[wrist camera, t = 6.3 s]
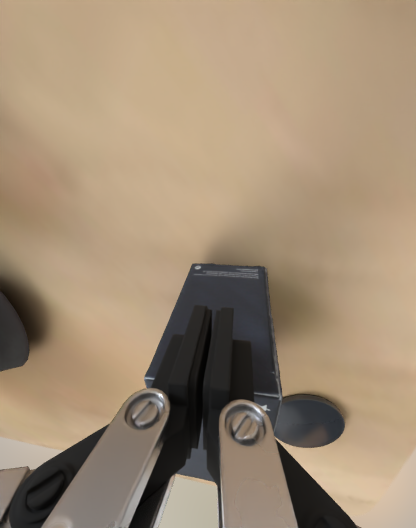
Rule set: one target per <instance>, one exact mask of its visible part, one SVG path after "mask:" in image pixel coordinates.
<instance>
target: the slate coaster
mask: <svg viewBox="0 0 416 528" xmlns="http://www.w3.org/2000/svg"><path fill="white" fill-rule="evenodd" d="M344 427H345V422H344V419H343V416H342V414H341V412H340V410H339V409H338V408H337V406H336V405H334V404H333V403H332V402H330V401H328V400H326V399H324V398H322V397H318V396H314V395H305V394H304V395H293V396H288V397H285V398H283V399H282V403H281V406H280V411H279V415H278V419H277V424H276V428H275V432H274V436H275V437H276V438H278V439H279V440H281V441H282V442H284V443H286V444H289V445H292V446H296V447H303V448H314V447H321V446H324V445H327V444H330V443H332V442H334V441H335V440H337V439H338V438H339V437H340V436H341V434H342V433H343V431H344Z"/></svg>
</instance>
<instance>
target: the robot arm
mask: <svg viewBox="0 0 416 528" xmlns="http://www.w3.org/2000/svg"><path fill="white" fill-rule="evenodd" d="M233 316H234V308H229V307H221V310H216V314H215V320H214V325H213V331H212V310H211V309H208V307H207V306H202V305H194V308H193V311H192V314H191V317H190V320H189V323H188V326H187V328H186V331H185V334H184V335H181V334H173V335H172V337H171V340H170V342H169V345H168V347H167V349H166V352H165V354H164V357H163V359H162V361H161V364H160V366H159V369H158V371H157V374H156V376H155V378H154V381H153V383H152V386H151V388H147V389H142V390H140V391H137V392H135V393H134V394H132V395H131V396H130V397H129V398H128V399H127V400H126V401H125V402H124V403H123V405H122V407H121V408H120V410H119V411H118V413H117V414H116V416H115V417H114V419H113V420H112V422H111V423H110V424H108V425H107V426H105V427H103V428H102V429H100V430H98V431H97V432H95V433H93V434H92V435H90V436H88V437H87V438H85V439H83V440H82V441H80V442H78V443H77V444H75V445H73V446H72V447H70V448H68V449H67V450H65V451H63V452H62V453H60V454H58V455H57V456H55V457H53V458H52V459H50V460H48V461H47V462H45V463H44V464H42V465H41V466H39V467H38V468H37V469H34V470H30V469H29V467H28V466H27V467H20V468H11V469H3V470H0V528H158V527H159V524H160V521H161V518H162V515H163V512H164V509H165V506H166V504H167V501H168V498H169V495H170V492H171V489H172V485H173V483H174V479H175V474H176V473H177V472H178V471H179V470H180V469H181V468H183V467H184V466H185V464H186V459H190V458H191V452H192V448H195V449H198V445H199V438H200V432H201V426H202V419H203V450H207V470H208V472H209V473H210V475H211V477H212V478H213V480H214V481H215V483H216V485H217V503H218V528H361V527H359V526H357V525H355V523H354V522H353V521H352V520H351V519H350V517H349V516H348V515H347V514H346V513H345V512H344V511H343V510H342V509H341V507H340V506H339V505H338V504H337V503H336V502H335V501H334V500H333V499H332V498H331V497H330V496H329V495H328V494H327V493H326V492H325V491H324V490H323V489H322V487H321V486H320V485H319V484H318V483H317V482H316V481H315V480H314V479H313V478H312V477H311V476H310V475H309V474H308V473H307V472H306V471H305V470H304V468H303V467H302V466H301V465H300V464H299V463H298V462H297V461H296V460H295V459H294V458H293V457H292V456H291V455H290V454H289V453H288V452H287V451H286V449H285V448H284V447H283V446H282V445H281V444H280V443H279V442H278V441H277V440H276V439H275V436H274V432H273V429H272V425H271V422H270V419H269V417H268V415H267V414H266V412H265V411H264V410H263V408H261V407H260V406H259V405H257V404H256V403H254V386H253V367H252V349H251V341H246V340H235V339H232V335H233Z"/></svg>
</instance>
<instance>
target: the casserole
mask: <svg viewBox="0 0 416 528" xmlns="http://www.w3.org/2000/svg"><path fill="white" fill-rule="evenodd" d="M28 356H29V344H28V338H27V335H26V332H25V329H24V326H23V323H22V321H21V320H20V318H19V316H18V314H17V312H16V310H15V309H14V307H13V306H12V305H11V303H10V302H9V301H8V299H7V298H6V296H5V295H4V294H3V293H2V292H1V291H0V371H3V370H8V369H12V368H16V367H20V366H23V365H24V364H25V362H26V361H27V360H28Z"/></svg>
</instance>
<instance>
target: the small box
mask: <svg viewBox="0 0 416 528" xmlns="http://www.w3.org/2000/svg"><path fill="white" fill-rule="evenodd" d="M194 305H202V306H207V307H208V309H211V310H212V331H213V325H214V320H215V314H216V310H221V307H229V308H234V316H233V335H232V339H235V340H246V341H251V349H252V367H253V386H254V403H256V404H257V405H259V406H260V407H261V408H263V410H264V411H265V412H266V414H267V415H268V417H269V419H270V422H271V425H272V429H273V432H275V428H276V424H277V419H278V415H279V411H280V406H281V403H282V399H283V397H282V388H281V381H280V371H279V364H278V359H277V357H278V356H277V350H276V343H275V336H274V326H273V318H272V315H271V305H270V296H269V287H268V276H267V268H265V267H261V266H233V265H216V264H192V266H191V268H190V271H189V273H188V276H187V278H186V281H185V283H184V286H183V288H182V290H181V293H180V295H179V298H178V300H177V302H176V305H175V307H174V310H173V312H172V314H171V317H170V319H169V322H168V324H167V326H166V329H165V331H164V333H163V336H162V338H161V340H160V343H159V345H158V348H157V350H156V353H155V355H154V358H153V360H152V362H151V364H150V367H149V369H148V371H147V373H146V375H145V377H144V380H145V383H146V387H147V388H151V386H152V383H153V381H154V378H155V376H156V374H157V371H158V369H159V366H160V364H161V361H162V359H163V357H164V354H165V352H166V349H167V347H168V345H169V342H170V340H171V337H172V335H173V334H181V335H184V334H185V331H186V328H187V326H188V323H189V320H190V317H191V314H192V311H193V308H194ZM176 474H180V475H185V476H190V477H195V478H200V479H204V480H208V481H213V482H215V481H214V480H213V478H212V477H211V475H210V473H209V472H208V470H207V450H203V419H202V426H201V432H200V438H199V445H198V449H195V448H192V452H191V458H190V459H186V464H185V466H184V467H183V468H181V469H180V470H179V471H178V472H177V473H176Z"/></svg>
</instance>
